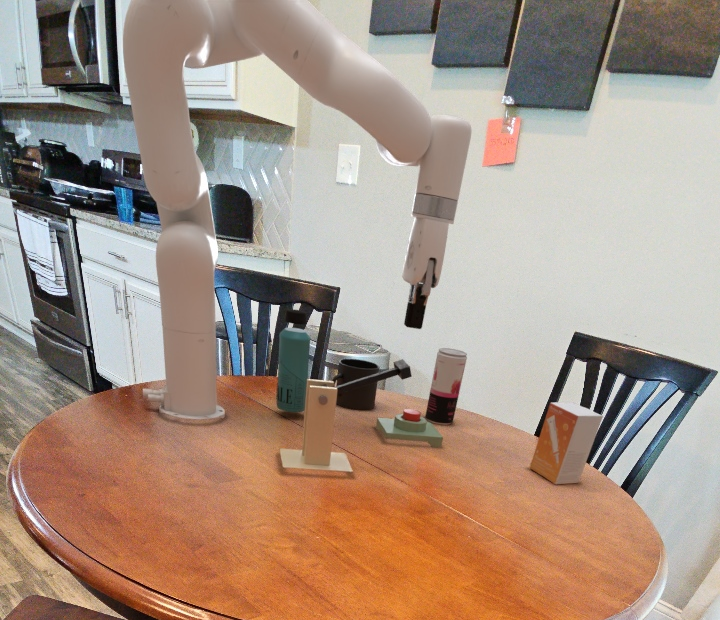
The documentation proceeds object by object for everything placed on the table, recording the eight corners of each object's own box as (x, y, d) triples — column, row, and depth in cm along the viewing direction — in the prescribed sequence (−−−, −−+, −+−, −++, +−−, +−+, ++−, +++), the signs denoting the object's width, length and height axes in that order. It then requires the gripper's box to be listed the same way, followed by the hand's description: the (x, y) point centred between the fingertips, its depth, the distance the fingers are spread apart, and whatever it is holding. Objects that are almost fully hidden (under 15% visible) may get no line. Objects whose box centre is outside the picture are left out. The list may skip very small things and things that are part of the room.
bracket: (344, 459, 108) (353, 380, 100) (352, 478, 101) (362, 394, 93) (279, 454, 106) (283, 373, 97) (282, 474, 99) (287, 387, 90)
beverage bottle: (308, 413, 128) (315, 310, 116) (302, 422, 123) (310, 315, 111) (278, 408, 128) (283, 305, 116) (272, 417, 123) (276, 309, 111)
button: (404, 422, 120) (405, 413, 119) (400, 416, 123) (401, 408, 122) (421, 423, 121) (422, 415, 120) (416, 418, 123) (418, 409, 122)
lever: (405, 371, 99) (402, 356, 97) (412, 379, 95) (409, 363, 93) (313, 400, 99) (309, 386, 98) (316, 409, 95) (312, 394, 94)
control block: (385, 443, 119) (388, 423, 116) (375, 427, 126) (378, 408, 124) (441, 447, 121) (445, 428, 119) (428, 432, 129) (432, 413, 127)
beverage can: (455, 426, 135) (471, 356, 126) (428, 424, 134) (442, 353, 125) (448, 418, 140) (462, 349, 131) (422, 415, 139) (435, 346, 130)
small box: (528, 468, 118) (549, 401, 110) (552, 467, 120) (574, 401, 112) (554, 485, 112) (578, 415, 104) (579, 483, 115) (604, 415, 107)
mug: (317, 400, 138) (321, 359, 132) (358, 397, 144) (363, 358, 139) (341, 412, 132) (345, 369, 127) (382, 409, 139) (388, 368, 133)
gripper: (403, 205, 107) (386, 317, 118) (424, 207, 95) (402, 332, 106) (442, 212, 109) (421, 323, 119) (467, 216, 97) (441, 337, 108)
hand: (412, 327), depth 113 cm, fingers closed
